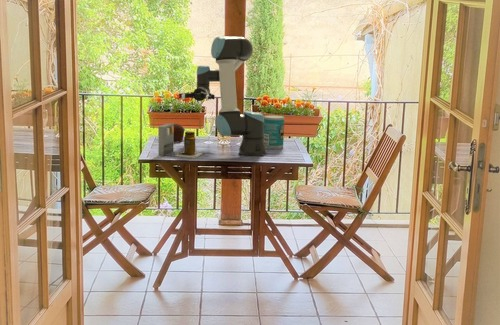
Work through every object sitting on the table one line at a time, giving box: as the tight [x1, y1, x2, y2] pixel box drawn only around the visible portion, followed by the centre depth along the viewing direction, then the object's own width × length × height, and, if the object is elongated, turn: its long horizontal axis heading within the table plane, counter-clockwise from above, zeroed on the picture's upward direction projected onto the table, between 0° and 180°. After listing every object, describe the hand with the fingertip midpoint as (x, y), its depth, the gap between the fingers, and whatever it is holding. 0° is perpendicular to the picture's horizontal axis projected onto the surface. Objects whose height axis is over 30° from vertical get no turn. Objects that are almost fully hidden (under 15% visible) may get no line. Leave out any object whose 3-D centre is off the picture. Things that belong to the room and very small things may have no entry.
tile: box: [175, 151, 203, 159], centre depth 392 cm, size 11×11×1 cm
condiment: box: [178, 131, 199, 156], centre depth 391 cm, size 7×8×12 cm
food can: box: [263, 114, 285, 150], centre depth 420 cm, size 12×12×18 cm
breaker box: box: [158, 122, 175, 157], centre depth 391 cm, size 4×12×16 cm, turn 160°
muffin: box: [173, 123, 186, 143], centre depth 433 cm, size 12×11×10 cm
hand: (194, 97), depth 399 cm, fingers open, 13 cm apart
